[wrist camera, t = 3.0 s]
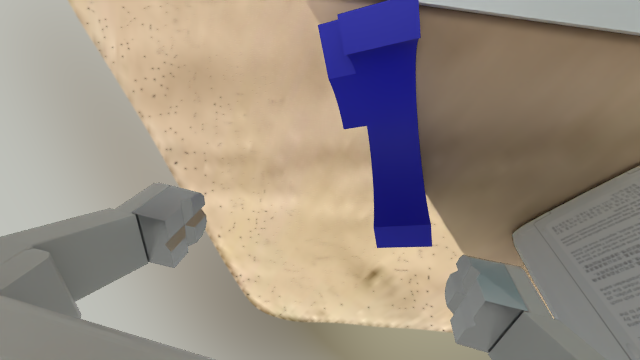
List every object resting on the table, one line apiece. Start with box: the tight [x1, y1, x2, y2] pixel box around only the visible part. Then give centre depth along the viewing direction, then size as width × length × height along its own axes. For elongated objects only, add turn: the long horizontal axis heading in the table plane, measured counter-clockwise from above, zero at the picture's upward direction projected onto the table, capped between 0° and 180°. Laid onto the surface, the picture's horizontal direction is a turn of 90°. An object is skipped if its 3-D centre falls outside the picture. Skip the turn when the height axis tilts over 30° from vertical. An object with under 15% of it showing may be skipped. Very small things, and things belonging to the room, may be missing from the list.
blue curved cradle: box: [318, 0, 432, 248], centre depth 16 cm, size 12×4×6 cm, turn 13°
